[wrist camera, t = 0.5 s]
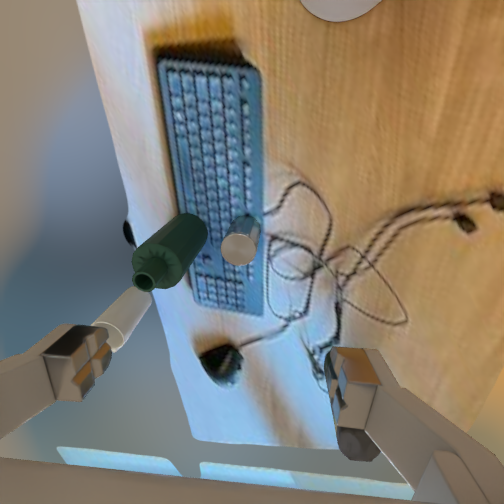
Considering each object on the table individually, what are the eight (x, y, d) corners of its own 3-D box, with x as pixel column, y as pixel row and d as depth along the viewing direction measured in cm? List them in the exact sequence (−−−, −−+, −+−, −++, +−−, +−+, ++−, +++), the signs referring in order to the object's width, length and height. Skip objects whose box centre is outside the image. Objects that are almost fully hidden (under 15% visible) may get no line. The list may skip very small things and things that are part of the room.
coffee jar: (356, 377, 62) (383, 468, 45) (322, 376, 63) (337, 465, 46) (360, 347, 58) (392, 436, 41) (324, 347, 59) (341, 433, 42)
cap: (236, 210, 46) (227, 228, 38) (264, 222, 47) (261, 242, 39) (226, 236, 49) (216, 257, 41) (253, 247, 49) (248, 270, 41)
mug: (123, 282, 56) (86, 318, 46) (152, 287, 56) (122, 325, 46) (127, 317, 61) (94, 357, 50) (154, 321, 61) (127, 363, 50)
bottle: (175, 207, 47) (120, 247, 31) (212, 222, 48) (177, 270, 32) (166, 240, 51) (112, 292, 35) (201, 254, 51) (164, 312, 35)
